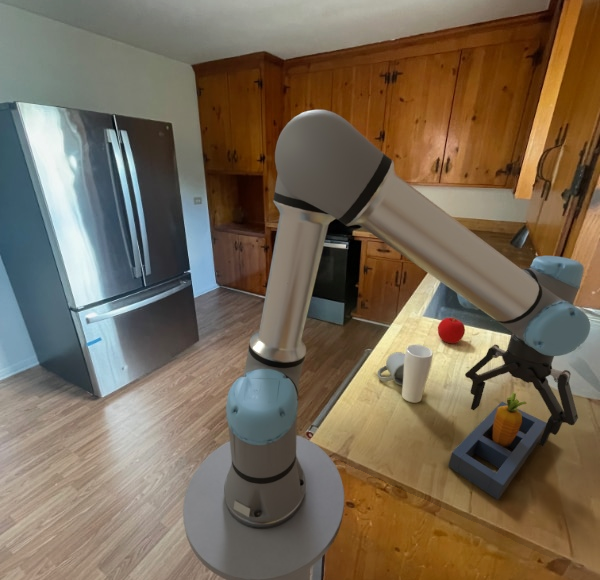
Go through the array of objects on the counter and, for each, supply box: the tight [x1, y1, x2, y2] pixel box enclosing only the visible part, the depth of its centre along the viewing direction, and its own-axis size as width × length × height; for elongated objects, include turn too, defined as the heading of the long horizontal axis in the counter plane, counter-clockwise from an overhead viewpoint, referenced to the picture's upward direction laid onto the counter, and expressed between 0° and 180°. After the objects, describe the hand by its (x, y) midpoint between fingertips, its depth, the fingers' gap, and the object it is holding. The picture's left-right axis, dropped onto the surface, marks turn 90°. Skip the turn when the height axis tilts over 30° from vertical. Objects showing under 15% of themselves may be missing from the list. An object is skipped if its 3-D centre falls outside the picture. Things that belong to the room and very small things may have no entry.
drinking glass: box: [401, 344, 434, 404], centre depth 88 cm, size 7×7×15 cm
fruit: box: [437, 315, 466, 344], centre depth 120 cm, size 9×9×10 cm
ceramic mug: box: [376, 351, 405, 387], centre depth 98 cm, size 11×8×8 cm
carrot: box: [492, 392, 527, 449], centre depth 71 cm, size 5×5×15 cm
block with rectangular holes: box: [448, 401, 547, 501], centre depth 74 cm, size 10×26×4 cm, turn 130°
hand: (506, 423), depth 71 cm, fingers open, 13 cm apart
